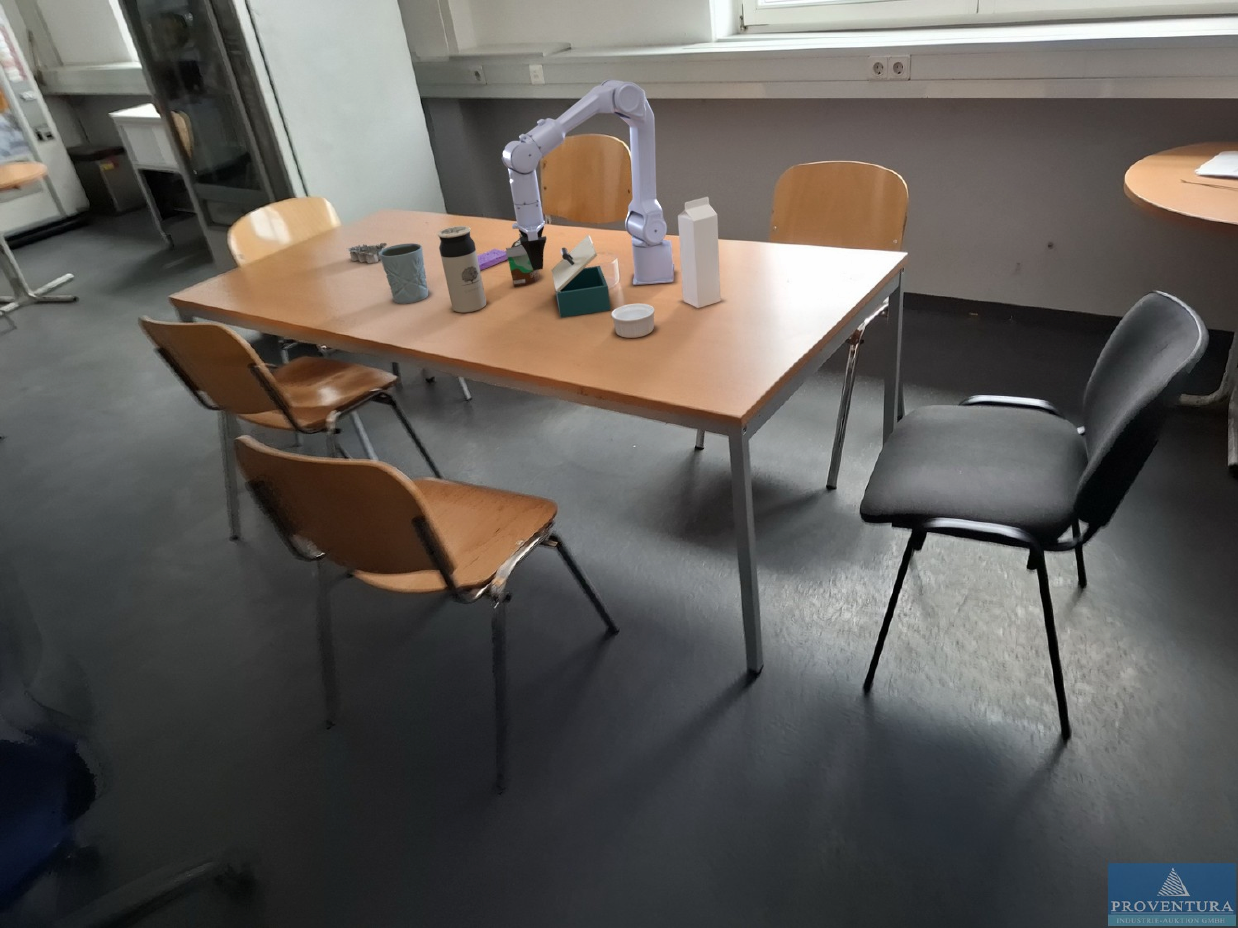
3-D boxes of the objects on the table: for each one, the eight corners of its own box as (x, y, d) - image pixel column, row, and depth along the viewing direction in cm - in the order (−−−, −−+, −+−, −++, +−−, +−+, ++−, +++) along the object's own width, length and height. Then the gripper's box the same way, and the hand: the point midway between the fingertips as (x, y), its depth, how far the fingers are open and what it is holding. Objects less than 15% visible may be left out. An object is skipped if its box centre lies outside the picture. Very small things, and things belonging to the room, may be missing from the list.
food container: (536, 288, 198) (529, 247, 193) (512, 289, 199) (505, 248, 194) (549, 271, 208) (543, 231, 203) (526, 271, 210) (519, 233, 204)
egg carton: (391, 257, 234) (388, 243, 232) (370, 265, 229) (366, 251, 227) (369, 252, 240) (365, 238, 238) (347, 260, 235) (343, 246, 233)
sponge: (512, 258, 220) (511, 251, 219) (475, 273, 213) (474, 265, 212) (496, 254, 225) (494, 248, 224) (459, 268, 218) (457, 261, 217)
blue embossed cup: (383, 304, 200) (370, 256, 194) (405, 289, 208) (394, 242, 202) (418, 305, 196) (406, 256, 190) (440, 290, 204) (429, 242, 198)
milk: (720, 301, 178) (717, 199, 167) (697, 309, 176) (693, 205, 164) (704, 294, 183) (700, 194, 171) (682, 301, 181) (676, 200, 169)
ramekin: (623, 343, 164) (621, 323, 162) (606, 329, 172) (604, 310, 169) (663, 332, 167) (661, 312, 165) (644, 319, 174) (643, 299, 172)
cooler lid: (590, 236, 186) (578, 224, 185) (597, 255, 174) (585, 242, 172) (553, 271, 189) (541, 260, 188) (558, 292, 177) (545, 280, 175)
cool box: (602, 288, 193) (600, 265, 190) (610, 310, 181) (607, 286, 178) (556, 295, 192) (552, 272, 189) (560, 317, 180) (557, 293, 177)
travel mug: (449, 306, 194) (432, 230, 184) (481, 298, 196) (466, 223, 187) (457, 316, 187) (440, 238, 178) (490, 308, 190) (475, 230, 180)
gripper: (507, 196, 180) (518, 256, 187) (509, 212, 167) (520, 277, 174) (539, 191, 180) (548, 252, 187) (543, 208, 168) (553, 272, 175)
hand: (537, 264), depth 181 cm, fingers open, 7 cm apart
